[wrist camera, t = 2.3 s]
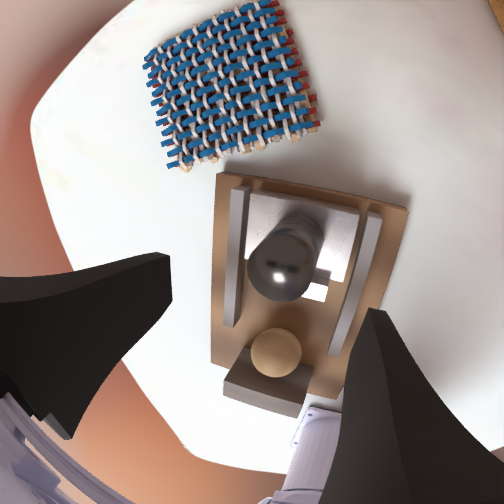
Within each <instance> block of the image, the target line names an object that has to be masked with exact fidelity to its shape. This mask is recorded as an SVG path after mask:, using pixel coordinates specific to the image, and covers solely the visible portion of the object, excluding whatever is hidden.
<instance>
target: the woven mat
mask: <svg viewBox="0 0 504 504" xmlns="http://www.w3.org/2000/svg"><path fill="white" fill-rule="evenodd" d="M279 5H280V4H279V2H278V0H275V1H272V0H261V1H259V2H257V0H253V3H245V5H243V6H242V7H241V8H240V9H239V10H238V7H237V6H235V7H234V11H232V10H227V11H228V12H226V13H225V11H224V10H222V11H220V12H221V15H220V16H219V17H218V18H217V19H216V15H213V16H212V19H209V20H208V19H206V20H205V21H204V22H202V23H200V26H199V27H198V28H196V27H197V24H194V25H193V28H192V29H186V30H185V31H184V32H183V33H182V35H180V33H179V34H176V38H173V39H170V40H167V41H166V42H165V43H164V44H163V46H162V43H161V44H159V45H158V48H156V46H155V47H154V48H153V49H152V50H151V51H150V52H149V53H148V55H147V56H145V57H144V60H145V61H146V62H148V63H145V64H144V65H143V70H145V69H147V68H149V67H151V66H152V67H151V72H150V73H149V74H148V78H149V79H150V78H152V79H153V80H151V81H149V82H147V83H146V85H147V87H151V86H153V88H156V87H158V86H159V87H158V88H157V89H156V90H155V91H153V92H152V96H153V97H159V96H161V95H162V97H160V98H157V99H155V100H153V101H151V106H155V105H157V104H159V106H160V107H161V106H163V107H162V108H161V109H160V110H158V111H156V113H157V116H163V115H165V114H167V113H168V116H167V117H165V118H163V119H160V120H158V121H156V126H160V125H162V124H163V126H166V125H168V124H170V123H171V126H169V127H168V128H167V129H165V130H163V131H162V132H161V133H162V136H168V135H170V134H172V133H173V138H170V139H168V140H165V141H162V142H161V145H162V147H164V146H166V145H167V146H171V145H173V144H176V146H177V148H175V149H173V150H171V151H169V152H167V155H168V157H173V156H175V155H178V160H177V161H174V162H171V163H168V164H167V167H168V169H170V168H172V167H178V166H179V167H180V168H181V169H182V170H183V171H184V172H189V171H190V170H191V169H192V164H193V161H195V160H196V162H197V163H198V164H201V162H203V161H204V162H207V158H206V157H207V156H209V157H208V160H209V161H210V162H212V163H213V164H214V163H216V162H218V158H219V156H220V158H222V157H224V155H223V153H222V152H223V151H226V152H227V154H228V155H229V156H231V155H233V154H232V152H233V150H234V149H235V153H237V152H240V151H239V146H240V148H241V151H242V154H246V153H250V152H251V149H254V148H255V147H256V149H258V150H261V151H262V150H263V149H265V148H266V144H265V142H264V140H266V139H268V142H269V143H270V142H273V141H275V142H280V141H279V140H280V139H282V138H281V135H283V134H286V136H287V139H288V140H291V141H292V142H296V141H299V138H300V137H302V135H301V130H302V132H303V136H304V135H307V131H306V129H308V133H312V132H317V126H321V125H320V122H319V120H318V121H315V117H314V113H317V111H316V108H315V107H313V108H312V107H311V105H310V102H313V101H315V100H317V99H316V95H313V94H312V95H310V96H308V94H307V91H306V89H307V88H310V87H309V84H308V82H306V83H304V82H303V78H302V77H305V76H308V74H307V71H301V72H300V69H299V66H300V65H302V62H301V60H300V59H298V60H296V57H295V54H298V51H297V49H296V48H294V49H292V46H291V44H294V40H293V38H289V37H288V36H290V35H292V34H293V32H292V30H290V29H288V30H286V29H285V27H284V25H283V24H285V23H287V22H286V19H285V18H282V19H281V17H280V16H282V15H284V11H283V10H278V9H277V7H276V6H279ZM246 11H248V12H246ZM186 38H187V39H186ZM254 44H255V45H254ZM161 46H162V47H161ZM245 48H246V49H245ZM229 53H230V55H229V56H228V54H229ZM260 53H261V55H258V54H260ZM196 57H197V58H196ZM284 57H285V59H284ZM246 58H249V59H247V60H246ZM212 60H213V61H212ZM278 61H280V62H278ZM165 63H166V64H165ZM262 64H265V65H263V66H261V65H262ZM251 69H252V70H251ZM217 70H218V71H217ZM234 75H235V77H234ZM265 76H269V78H265ZM157 77H158V78H157ZM220 79H221V80H220ZM253 79H255V81H254V82H253ZM218 80H220V81H219V82H218ZM291 80H292V81H293V84H292V81H291ZM170 81H171V82H170ZM185 83H186V84H185ZM237 84H239V85H240V86H239V87H238V85H237ZM204 85H207V87H205V86H204ZM233 86H234V87H233ZM268 86H272V87H273V88H271V89H269V88H268ZM177 87H178V88H179V89H176V90H174V89H175V88H177ZM221 90H223V92H221ZM256 90H258V93H257V92H256ZM189 92H191V94H190V95H188V93H189ZM209 95H210V98H209V99H207V97H208V96H209ZM242 95H243V99H241V96H242ZM179 97H181V98H179ZM178 98H179V99H178ZM275 98H276V102H272V99H275ZM177 99H178V100H177ZM235 99H236V100H235ZM176 100H177V101H176ZM175 101H176V102H175ZM224 102H225V103H226V104H225V105H224ZM260 103H261V105H260ZM191 104H192V105H191ZM210 106H213V109H211V108H210ZM244 106H246V109H247V110H245V108H244ZM294 106H296V110H294ZM181 107H183V108H184V109H183V110H180V111H179V110H178V109H179V108H181ZM239 108H240V109H241V111H240V110H239ZM276 109H279V111H280V114H278V115H276V114H275V110H276ZM229 111H230V112H231V116H229V114H228V113H227V112H229ZM195 112H197V116H194V113H195ZM263 113H266V116H267V118H265V117H264V115H263ZM303 116H304V119H305V122H304V119H303ZM184 117H186V119H185V120H184V121H182V122H181V118H184ZM213 117H216V121H214V122H213ZM259 117H260V119H259ZM297 117H299V121H300V123H298V121H297ZM247 118H249V119H250V123H248V121H247ZM281 121H283V127H284V128H279V126H278V122H281ZM197 123H199V124H200V126H198V127H197V125H196V124H197ZM232 123H234V127H233V125H232ZM267 125H269V127H270V130H269V129H268V126H267ZM262 126H263V127H264V130H265V132H264V133H263V128H262ZM184 128H186V131H184V130H183V129H184ZM216 128H217V130H216ZM228 128H229V129H228ZM250 130H251V131H250ZM246 133H247V134H246ZM201 134H203V138H202V139H201V138H200V137H199V136H200V135H201ZM236 134H237V136H238V140H236V136H235V135H236ZM247 135H248V137H247ZM229 137H231V139H232V142H231V140H230V138H229ZM272 137H273V140H272ZM187 140H188V141H189V142H190V143H189V144H187V145H186V142H187ZM220 144H221V146H220ZM249 144H250V145H249ZM203 145H205V146H206V147H207V149H206V150H204V147H203ZM191 149H194V151H193V155H191V154H190V152H189V151H188V150H191Z"/></svg>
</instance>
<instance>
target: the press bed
mask: <svg viewBox="0 0 504 504" xmlns="http://www.w3.org/2000/svg"><path fill="white" fill-rule="evenodd" d="M258 189H263V190H269V191H275V192H280V193H286V194H291V195H296V196H301V197H306V198H311V199H316V200H321V201H326V202H330V203H335V204H339V205H344V206H348V207H353V208H357V209H359V215H360V216H359V221H358V225H357V229H356V234H355V238H354V242H353V246H352V250H351V254H350V258H349V262H348V266H347V269H346V273H345V277H344V280H343V282H339V281H335V280H331V279H330V280H329V284H328V289H327V292H326V296H325V300H324V302H323V301H319V300H315V299H311V298H307V297H303V296H301V297H299V298H298V299H295V300H293V301H288V302H278V301H274V300H270V299H268V298H266V297H264V296H263V295H261V294H260V293H259V292H258V291H257V290H256V289H255V288H254V287H253V285H252V284H251V283H250V280H249V278H248V274H247V261H248V259H245V248H246V237H247V226H248V215H249V205H250V194H251V193H252V192H254V191H256V190H258ZM408 213H409V212H408V210H407V209H406V208H404V207H400V206H396V205H393V204H389V203H385V202H381V201H377V200H373V199H369V198H364V197H360V196H356V195H351V194H347V193H342V192H338V191H333V190H328V189H323V188H318V187H313V186H308V185H303V184H298V183H292V182H287V181H281V180H275V179H269V178H263V177H256V176H250V175H243V174H236V173H229V172H221V173H217V174H216V187H215V205H214V226H213V250H212V285H211V363H213V364H216V365H219V366H222V367H224V368H227V369H230V371H229V372H228V374H227V376H226V377H225V379H224V387H223V395H224V396H227V397H229V398H232V399H235V400H238V401H241V402H244V403H246V404H249V405H253V406H256V407H259V408H262V409H265V410H268V411H272V412H275V413H279V414H282V415H286V416H289V417H293V418H298V415H299V413H300V411H301V409H302V406H303V403H304V400H305V397H306V393H310V394H314V395H318V396H322V397H327V398H331V399H335V400H336V399H337V397H338V395H339V393H340V391H341V389H342V388H343V386H344V384H345V377H346V371H347V366H348V361H349V356H350V352H351V350H352V347H353V345H354V343H355V340H356V338H357V335H358V333H359V330H360V328H361V325H362V323H363V320H364V318H365V315H366V312H367V310H368V307H370V308H374V309H378V308H379V305H380V303H381V300H382V297H383V295H384V292H385V289H386V286H387V284H388V281H389V278H390V275H391V272H392V269H393V266H394V263H395V259H396V256H397V253H398V250H399V246H400V243H401V240H402V236H403V232H404V229H405V225H406V221H407V217H408ZM271 328H282V329H285V330H288V331H290V332H291V333H293V334H294V335H295V336H296V337H297V339H298V340H299V343H300V345H301V350H302V353H301V359H300V362H299V364H298V366H297V367H296V368H295V369H294V370H293V371H292V372H291V373H289V374H287V375H285V376H282V377H270V376H266V375H264V374H262V373H261V372H260V371H258V370H257V368H256V367H255V366H254V364H253V362H252V359H251V347H252V344H253V342H254V340H255V339H256V337H257V336H258V335H259V334H260V333H262V332H263V331H265V330H268V329H271Z"/></svg>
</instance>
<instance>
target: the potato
mask: <svg viewBox="0 0 504 504" xmlns="http://www.w3.org/2000/svg"><path fill="white" fill-rule="evenodd" d="M488 2H489V4H490V6H491V8H492V10H493V12H494V14H495V16H496V18H497V20H498V23H499V25H500V27H501V29H502V31H503V33H504V0H488Z"/></svg>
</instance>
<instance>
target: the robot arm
mask: <svg viewBox="0 0 504 504" xmlns="http://www.w3.org/2000/svg"><path fill="white" fill-rule="evenodd" d="M172 301H173V300H172V286H171V268H170V256H169V255H166V254H162V253H159V252H154V253H147V254H142V255H138V256H134V257H130V258H126V259H122V260H119V261H115V262H111V263H107V264H104V265H99V266H95V267H91V268H87V269H83V270H78V271H73V272H68V273H62V274H55V275H46V276H34V277H0V504H78V503H76V502H75V501H74V500H72V499H71V498H70V497H69V496H68V495H66V494H65V493H64V492H63V491H62V490H60V489H59V488H58V487H57V485H58V484H59V483H60V482H61V480H60V478H59V477H58V476H57V475H56V473H55V472H54V471H53V470H52V469H51V468H50V467H48V465H46V463H44V462H43V461H42V460H41V459H40V458H39V457H38V456H37V455H36V454H35V453H34V452H33V451H32V450H31V449H29V448H28V447H27V446H26V445H25V437H26V438H27V439H28V441H29V442H30V443H31V444H32V445H33V446H34V447H35V448H36V450H38V452H39V453H40V454H41V455H42V456H43V457H44V458H45V459H46V460H47V461H48V462H49V463H50V464H51V465H52V466H53V467H54V468H55V469H56V470H58V471H59V472H60V473H61V474H62V475H63V476H64V477H65V478H66V479H68V480H69V481H70V482H71V483H72V484H73V485H75V486H76V487H77V488H78V489H79V490H81V491H82V492H83V493H84V494H86V495H87V496H88V497H90V498H91V499H92V500H93V501H95V502H96V503H97V504H135V503H133V502H132V501H130V500H128V499H127V498H125V497H124V496H122V495H120V494H119V493H117V492H116V491H114V490H113V489H111V488H110V487H109V486H107V485H106V484H104V483H103V482H102V481H100V480H99V479H97V478H96V477H95V476H93V475H92V474H91V473H89V472H88V471H87V470H86V469H84V468H83V467H82V466H81V465H80V464H78V463H77V462H76V461H75V460H74V459H72V458H71V457H70V456H69V455H68V454H67V453H65V452H64V451H63V450H62V449H61V448H60V447H59V446H58V445H57V444H56V443H55V442H53V440H51V439H50V438H49V437H48V436H47V435H46V434H45V433H44V432H43V431H42V430H41V429H40V427H38V425H37V424H36V423H35V422H34V421H33V420H32V419H31V418H30V417H31V416H32V415H34V416H35V417H36V418H37V419H38V420H39V421H42V420H44V421H45V422H46V423H47V424H48V425H49V426H50V427H51V428H52V429H53V430H54V431H55V432H56V433H57V434H58V435H59V436H60V437H62V438H63V439H65V440H69V439H72V437H73V435H74V433H75V431H76V428H77V426H78V424H79V422H80V420H81V418H82V416H83V414H84V413H85V411H86V409H87V407H88V405H89V404H90V402H91V400H92V398H93V397H94V395H95V394H96V392H97V391H98V389H99V388H100V386H101V385H102V383H103V382H104V380H105V379H106V378H107V376H108V375H109V374H110V372H111V371H112V370H113V368H114V367H115V366H116V364H117V363H118V362H119V361H120V360H121V358H122V357H123V356H124V355H125V354H126V353H127V352H128V351H129V350H130V349H131V348H132V347H133V346H134V345H135V344H136V343H137V342H138V341H139V340H140V339H141V338H142V337H143V336H144V335H145V334H146V333H147V332H148V331H149V330H150V328H151V327H152V326H153V325H154V324H155V323H156V322H157V321H158V320H159V319H160V318H161V316H162V315H163V314H164V312H165V311H166V309H167V308H168V307H169V305H170V304H171V302H172ZM290 446H291V447H293V448H296V451H295V454H294V457H293V460H292V462H291V465H290V468H289V471H288V474H287V477H286V479H285V482H284V485H283V487H282V490H281V491H275V493H274V496H273V498H272V497H267V498H265V499H264V500H262V501H260V502H259V503H258V504H504V463H503V462H502V461H501V460H499V459H498V458H497V457H496V456H494V455H493V454H491V453H490V452H489V451H488V450H487V449H486V448H485V447H484V446H483V445H482V444H481V443H480V442H479V441H478V440H477V439H476V438H474V436H473V435H472V434H471V433H470V432H469V431H468V430H467V429H466V428H465V427H464V426H463V425H462V424H461V423H460V421H459V420H458V419H457V418H456V417H455V416H454V415H453V414H452V412H451V411H450V410H449V409H448V408H447V406H446V405H445V404H444V403H443V401H442V400H441V399H440V397H439V396H438V395H437V393H436V392H435V391H434V389H433V388H432V386H431V385H430V384H429V382H428V381H427V379H426V378H425V376H424V375H423V373H422V372H421V370H420V368H419V367H418V365H417V364H416V362H415V361H414V359H413V357H412V356H411V354H410V352H409V351H408V349H407V347H406V345H405V344H404V342H403V340H402V338H401V337H400V335H399V333H398V331H397V330H396V328H395V326H394V324H393V323H392V321H391V319H390V317H389V316H388V314H387V312H386V311H383V310H378V309H374V308H370V307H368V310H367V312H366V315H365V318H364V320H363V323H362V325H361V328H360V330H359V333H358V335H357V338H356V340H355V343H354V345H353V347H352V350H351V352H350V356H349V361H348V366H347V371H346V377H345V385H344V396H343V406H342V413H337V412H333V411H328V410H323V409H319V408H315V407H309V408H308V409H307V411H306V413H305V415H304V417H303V419H302V421H301V424H300V426H299V428H298V430H297V432H296V434H295V436H294V438H293V440H292V442H291V444H290Z"/></svg>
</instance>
